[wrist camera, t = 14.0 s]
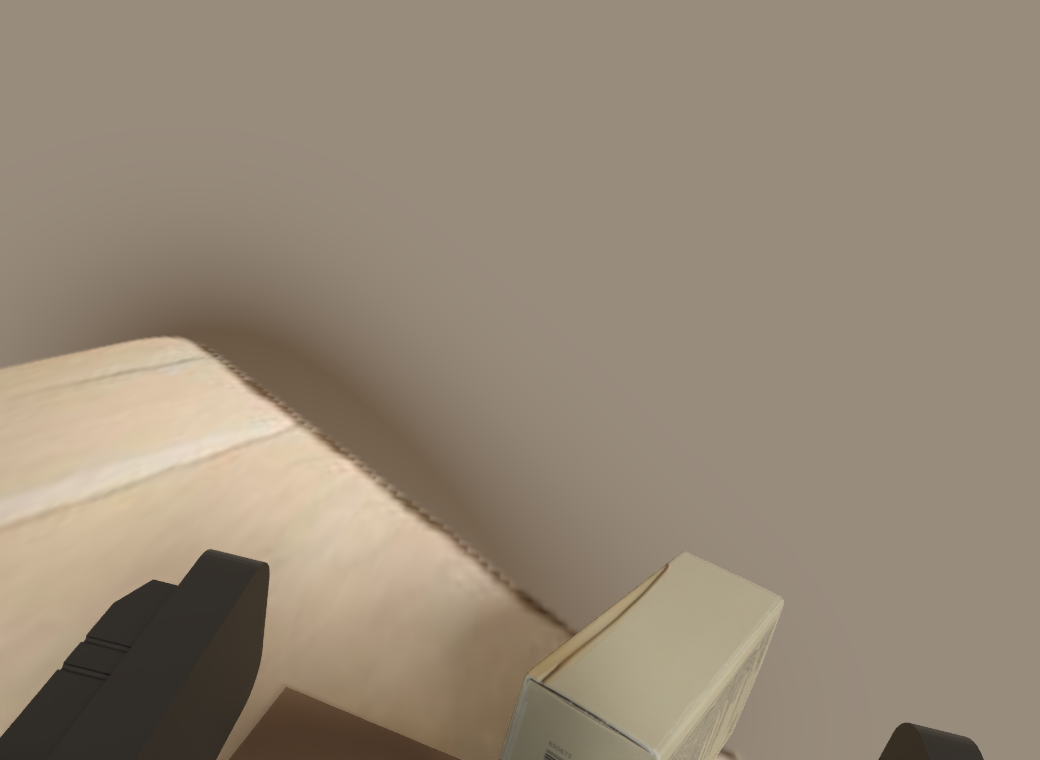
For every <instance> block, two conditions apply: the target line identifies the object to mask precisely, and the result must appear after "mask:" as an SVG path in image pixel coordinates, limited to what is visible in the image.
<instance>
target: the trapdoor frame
mask: <svg viewBox="0 0 1040 760" xmlns="http://www.w3.org/2000/svg"><path fill="white" fill-rule="evenodd" d="M229 760H460V759H458V758H455V757H453V756H451V755H448V754H446V753H443V752H441V751H438V750H436V749H434V748H431V747H429V746H426V745H424V744H422V743H419V742H417V741H414V740H412V739H410V738H407V737H405V736H402V735H400V734H398V733H395V732H393V731H390V730H388V729H386V728H383V727H381V726H378V725H376V724H374V723H371V722H369V721H366V720H364V719H362V718H359V717H357V716H354V715H352V714H350V713H347V712H345V711H342V710H340V709H338V708H335V707H333V706H330V705H328V704H326V703H323V702H321V701H318V700H316V699H313V698H311V697H309V696H306V695H304V694H301V693H299V692H297V691H294V690H292V689H289V688H287V687H286V688H285V689H284V691H283V692H282V693H281V694H280V696H279V697H278V698H277V700H276V701H275V702H274V703H273V705H272V706H271V707H270V708H269V710H268V711H267V712H266V714H265V715H264V716H263V717H262V719H261V720H260V721H259V722H258V724H257V725H256V726H255V728H254V729H253V730H252V731H251V733H250V734H249V735H248V737H247V738H246V739H245V740H244V742H243V743H242V744H241V745H240V747H239V748H238V749H237V751H236V752H235V753H234V754H233V756H232V757H231V758H230V759H229Z"/></svg>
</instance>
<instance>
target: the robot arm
mask: <svg viewBox="0 0 1040 760" xmlns="http://www.w3.org/2000/svg"><path fill="white" fill-rule="evenodd" d="M268 586H269V565H268V564H267V563H265V562H261V561H257V560H253V559H249V558H245V557H241V556H237V555H233V554H229V553H225V552H221V551H216V550H212V549H209V550H207V551H205V552H204V553H203V554H202V555H201V556H200V558H199V559H198V560H197V562H196V563H195V564H194V566H193V567H192V568H191V569H190V571H189V572H188V573H187V575H186V576H185V577H184V579H183V580H182V581H181V583H180V584H179V585H178V586H177V585H173V584H169V583H165V582H161V581H157V580H152V581H150V582H148V583H147V584H145V585H143V586H141V587H140V588H138V589H136V590H135V591H133V592H131V593H130V594H128V595H126V596H125V597H123V598H121V599H120V600H118V601H116V602H115V603H113V604H112V606H111V607H110V608H109V609H108V610H107V611H106V613H105V614H104V615H103V616H102V617H101V619H100V620H99V621H98V622H97V623H96V625H95V626H94V627H93V628H92V629H91V631H90V632H89V633H88V634H87V635H86V639H85V641H84V642H80V644H79V645H78V646H77V647H76V648H75V650H74V651H73V652H72V653H71V654H70V655H69V657H68V658H67V659H66V660H65V661H64V664H63V667H62V669H61V670H57V671H56V672H55V673H54V674H53V676H52V677H51V678H50V679H49V680H48V682H47V683H46V684H45V685H44V686H43V688H42V689H41V690H40V691H39V692H38V694H37V695H36V696H35V697H34V698H33V699H32V701H31V702H30V703H29V704H28V705H27V707H26V708H25V709H24V710H23V711H22V713H21V714H20V715H19V716H18V717H17V718H16V720H15V721H14V722H13V723H12V724H11V726H10V727H9V728H8V729H7V730H6V732H5V733H4V734H3V735H2V736H1V737H0V760H216V758H217V757H218V755H219V753H220V751H221V749H222V747H223V745H224V744H225V742H226V740H227V738H228V736H229V734H230V732H231V731H232V729H233V727H234V725H235V723H236V721H237V719H238V718H239V716H240V714H241V712H242V710H243V708H244V706H245V704H246V702H247V700H248V698H249V696H250V693H251V691H252V688H253V686H254V683H255V680H256V677H257V673H258V670H259V666H260V661H261V656H262V648H263V637H264V627H265V617H266V606H267V596H268ZM879 760H984V759H983V757H982V755H981V752H980V750H979V749H978V747H977V745H976V744H975V743H974V742H973V741H972V740H971V739H970V738H967V737H965V736H960V735H956V734H952V733H948V732H944V731H940V730H936V729H932V728H928V727H924V726H920V725H915V724H911V723H902V724H901V725H899V726H898V727H897V728H896V729H895V731H894V733H893V734H892V736H891V738H890V740H889V741H888V743H887V745H886V747H885V749H884V751H883V752H882V754H881V756H880V758H879Z"/></svg>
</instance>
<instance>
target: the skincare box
mask: <svg viewBox="0 0 1040 760" xmlns="http://www.w3.org/2000/svg"><path fill="white" fill-rule="evenodd" d="M783 604H784V602H783V599H782V598H781V597H780V596H778V595H776V594H774V593H772V592H770V591H768V590H766V589H764V588H762V587H760V586H758V585H756V584H754V583H752V582H750V581H748V580H746V579H744V578H741V577H739V576H737V575H735V574H733V573H731V572H729V571H727V570H724V569H722V568H720V567H718V566H716V565H713V564H711V563H709V562H707V561H705V560H703V559H700V558H698V557H696V556H694V555H692V554H690V553H687V552H681V553H680V554H679V555H678V556H677V557H675V558H674V559H672V560H671V561H670V562H669V563H668V564H666V565H665V566H664V567H662V568H661V569H660V570H659V571H657V572H656V573H655V574H653V575H652V576H650V577H649V578H648V579H647V580H645V581H644V582H643V583H642V584H640V585H639V586H638V587H636V588H635V589H634V590H633V591H631V592H630V593H629V594H627V595H626V596H625V597H624V598H622V599H621V600H620V601H619V602H617V603H616V604H614V605H613V606H612V607H610V608H609V609H608V610H607V611H605V612H604V613H603V614H602V615H600V616H599V617H598V618H597V619H595V620H594V621H593V622H591V623H590V624H589V625H587V626H586V627H585V628H584V629H582V630H581V631H580V632H578V633H577V634H576V635H574V636H573V637H572V638H571V639H570V640H568V641H567V642H566V643H564V644H563V645H562V646H560V647H559V648H558V649H557V650H555V651H554V652H553V653H551V654H550V655H549V656H548V657H547V658H545V659H544V660H543V661H541V662H540V663H539V664H538V665H536V666H535V667H534V668H532V669H531V670H530V671H529V672H528V673H527V674H526V676H525V678H524V681H523V684H522V687H521V690H520V693H519V696H518V699H517V703H516V706H515V709H514V712H513V716H512V719H511V722H510V725H509V728H508V732H507V735H506V738H505V742H504V745H503V748H502V752H501V755H500V759H499V760H714V759H715V758H716V756H717V755H718V753H719V752H720V750H721V749H722V748H723V746H724V745H725V743H726V741H727V740H728V738H729V737H730V735H731V734H732V732H733V731H734V728H735V725H736V723H737V721H738V719H739V716H740V714H741V712H742V709H743V707H744V705H745V703H746V700H747V698H748V696H749V693H750V691H751V689H752V686H753V683H754V681H755V679H756V676H757V674H758V672H759V669H760V667H761V665H762V662H763V659H764V657H765V654H766V651H767V648H768V646H769V643H770V641H771V638H772V635H773V632H774V630H775V627H776V625H777V622H778V619H779V616H780V613H781V610H782V608H783Z"/></svg>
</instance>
